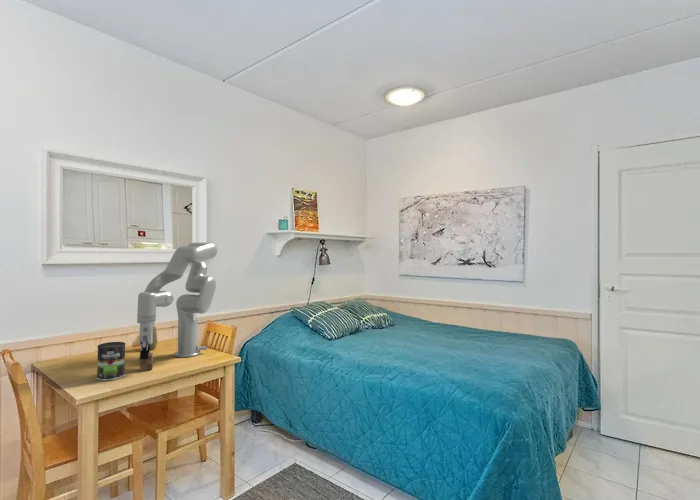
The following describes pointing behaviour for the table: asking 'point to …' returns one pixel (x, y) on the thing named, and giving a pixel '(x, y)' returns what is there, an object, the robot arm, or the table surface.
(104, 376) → the coffee can
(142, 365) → the walnut block
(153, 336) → the squeeze bottle
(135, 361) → the table surface
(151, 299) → the robot arm
